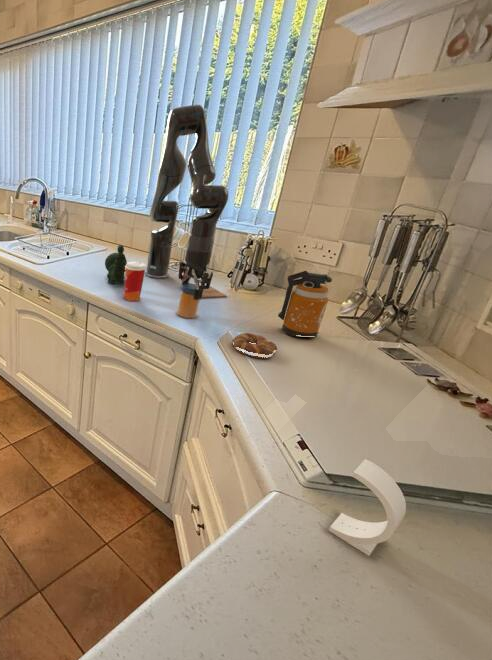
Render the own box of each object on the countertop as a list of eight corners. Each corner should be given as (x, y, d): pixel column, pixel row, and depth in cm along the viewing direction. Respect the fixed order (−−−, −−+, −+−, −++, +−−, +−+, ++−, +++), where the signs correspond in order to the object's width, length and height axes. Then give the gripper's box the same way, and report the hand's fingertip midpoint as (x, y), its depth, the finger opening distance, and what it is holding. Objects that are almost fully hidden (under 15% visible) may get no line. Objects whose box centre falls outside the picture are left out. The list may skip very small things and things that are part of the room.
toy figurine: (128, 293, 163) (123, 270, 185) (134, 250, 154) (128, 231, 176) (105, 292, 165) (102, 269, 187) (109, 249, 156) (106, 231, 178)
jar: (174, 311, 141) (179, 284, 137) (191, 311, 141) (197, 285, 137) (181, 318, 135) (186, 290, 132) (198, 318, 135) (204, 291, 131)
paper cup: (127, 293, 158) (131, 260, 153) (145, 298, 153) (150, 263, 148) (117, 298, 153) (121, 264, 148) (135, 304, 148) (140, 268, 143)
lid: (177, 290, 136) (178, 285, 135) (188, 287, 139) (189, 282, 138) (194, 295, 131) (195, 290, 130) (205, 292, 134) (206, 287, 133)
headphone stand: (340, 516, 64) (365, 458, 59) (389, 545, 59) (420, 485, 54) (328, 530, 61) (353, 471, 57) (378, 562, 57) (410, 501, 52)
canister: (316, 343, 118) (336, 279, 110) (272, 333, 124) (288, 273, 116) (316, 332, 124) (335, 271, 117) (274, 323, 131) (290, 265, 123)
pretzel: (221, 341, 120) (223, 330, 118) (255, 339, 120) (258, 328, 119) (247, 361, 108) (250, 349, 107) (284, 359, 109) (288, 347, 108)
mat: (180, 288, 163) (181, 286, 163) (208, 286, 164) (208, 285, 164) (197, 298, 152) (197, 297, 152) (226, 297, 153) (226, 295, 153)
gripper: (175, 244, 135) (168, 289, 141) (204, 254, 122) (194, 304, 128) (195, 242, 136) (186, 288, 143) (225, 253, 123) (214, 302, 130)
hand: (190, 295), depth 135 cm, fingers closed on lid, 6 cm apart
